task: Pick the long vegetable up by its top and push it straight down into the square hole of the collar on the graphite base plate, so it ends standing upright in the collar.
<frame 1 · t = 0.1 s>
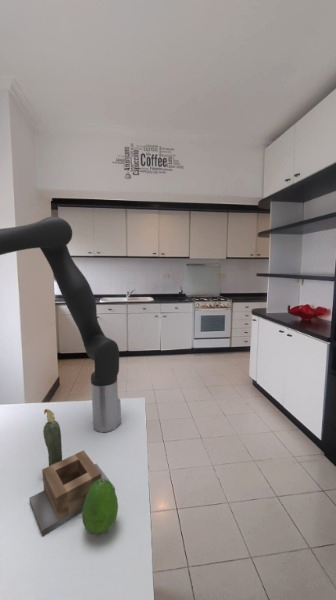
vegetable: (55, 474, 78), on the table
avocado: (101, 528, 62), on the table
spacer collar: (73, 497, 70), on the table
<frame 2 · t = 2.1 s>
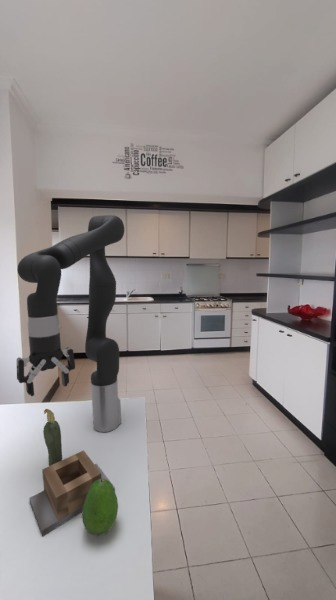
hand: (48, 390, 74), 25 cm above the table, tool pointing down, fingers open, 8 cm apart
nothing on the table moved.
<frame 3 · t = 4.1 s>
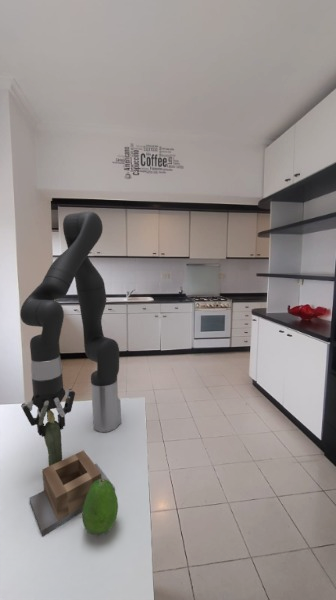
hand: (51, 431, 76), 13 cm above the table, tool pointing down, fingers closed on vegetable, 4 cm apart
vegetable: (55, 474, 78), on the table, touching gripper
everything else where it was.
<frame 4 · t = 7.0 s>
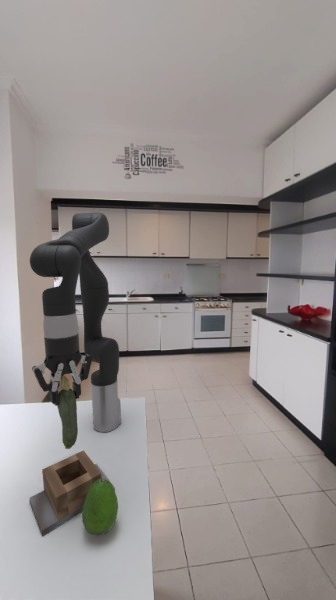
hand: (66, 400, 66), 27 cm above the table, tool pointing down, fingers closed on vegetable, 4 cm apart
vegetable: (70, 450, 69), point 13 cm above the table, touching gripper
everything else where it was.
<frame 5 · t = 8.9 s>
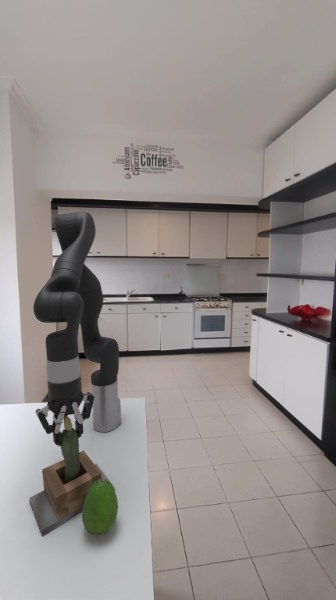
hand: (68, 439, 68), 16 cm above the table, tool pointing down, fingers closed on vegetable, 4 cm apart
vegetable: (72, 487, 70), point 3 cm above the table, touching gripper
everything else where it was.
when the fingers open (16 cm above the table, at t = 9.8 s): vegetable stays where it is, resting on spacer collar.
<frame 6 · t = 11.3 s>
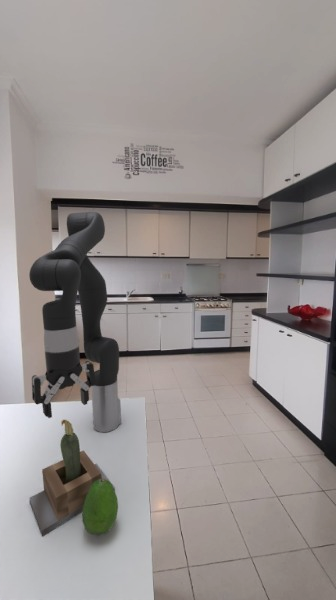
hand: (67, 409, 67), 24 cm above the table, tool pointing down, fingers open, 8 cm apart
vegetable: (73, 492, 70), point 1 cm above the table, touching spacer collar
everything else where it was.
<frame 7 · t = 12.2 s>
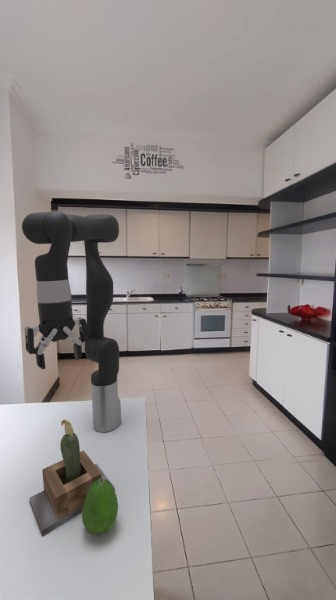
hand: (60, 363, 68), 35 cm above the table, tool pointing down, fingers open, 8 cm apart
nothing on the table moved.
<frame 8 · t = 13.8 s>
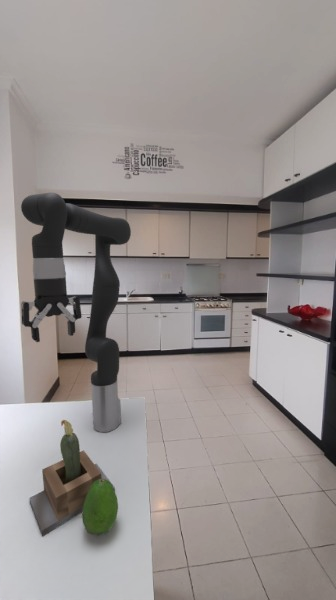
hand: (54, 338, 72), 40 cm above the table, tool pointing down, fingers open, 8 cm apart
nothing on the table moved.
at the end: vegetable 0.1 cm off-centre on the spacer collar, point 1.3 cm above the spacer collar's base; vegetable tilted 0°; the gripper is holding nothing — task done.
